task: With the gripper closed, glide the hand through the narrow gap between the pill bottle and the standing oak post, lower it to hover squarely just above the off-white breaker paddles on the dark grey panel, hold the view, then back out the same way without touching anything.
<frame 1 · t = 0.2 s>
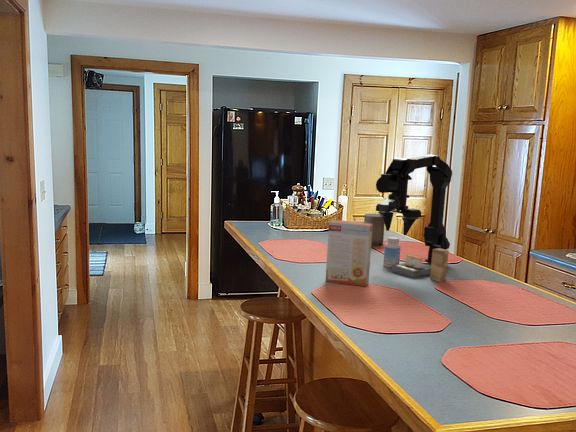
hand: (396, 232, 198), 14 cm above the kitchen island, tool pointing down, fingers open, 9 cm apart
pillar candle: (372, 243, 250), on the kitchen island
cracker box: (346, 282, 179), on the kitchen island
breaker paddles: (413, 261, 196), point 5 cm above the kitchen island, hinge at 0.0°
breaker panel: (412, 272, 197), on the kitchen island
oak post: (437, 279, 190), on the kitchen island
pill bottle: (391, 266, 207), on the kitchen island
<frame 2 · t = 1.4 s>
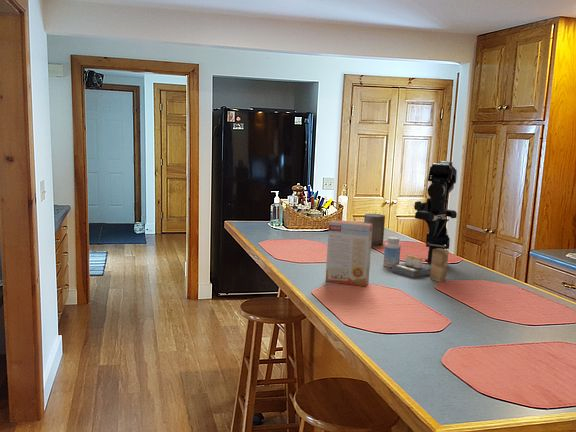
hand: (434, 236, 202), 13 cm above the kitchen island, tool pointing down, fingers closed
nothing on the kitchen island moved.
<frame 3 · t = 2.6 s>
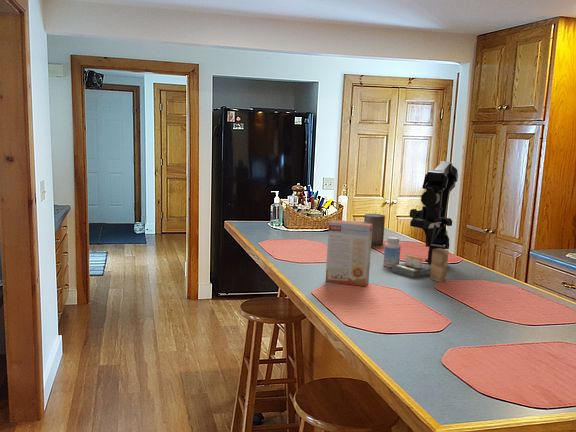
hand: (429, 244, 201), 10 cm above the kitchen island, tool pointing down, fingers closed
nothing on the kitchen island moved.
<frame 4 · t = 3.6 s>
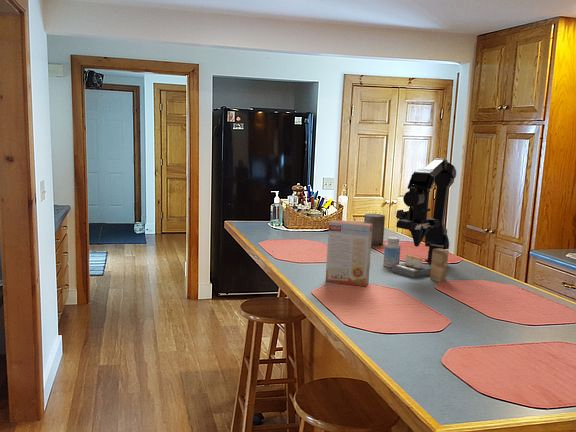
hand: (416, 246, 196), 10 cm above the kitchen island, tool pointing down, fingers closed
nothing on the kitchen island moved.
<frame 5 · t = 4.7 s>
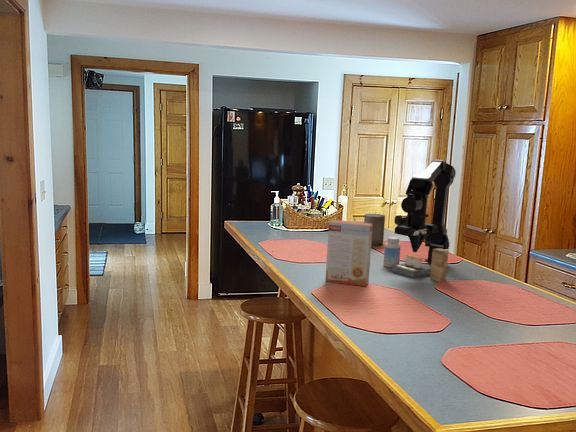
hand: (414, 252, 196), 8 cm above the kitchen island, tool pointing down, fingers closed
nothing on the kitchen island moved.
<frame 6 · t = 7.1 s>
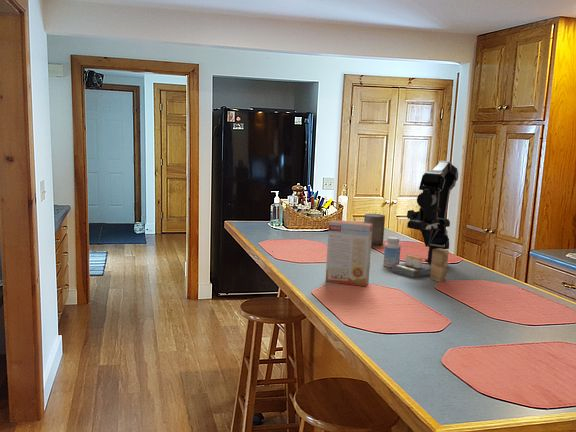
hand: (426, 245, 200), 10 cm above the kitchen island, tool pointing down, fingers closed
nothing on the kitchen island moved.
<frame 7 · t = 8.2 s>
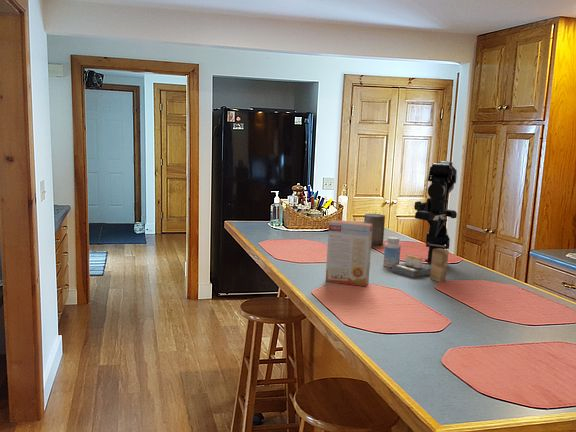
hand: (434, 236, 202), 13 cm above the kitchen island, tool pointing down, fingers closed
nothing on the kitchen island moved.
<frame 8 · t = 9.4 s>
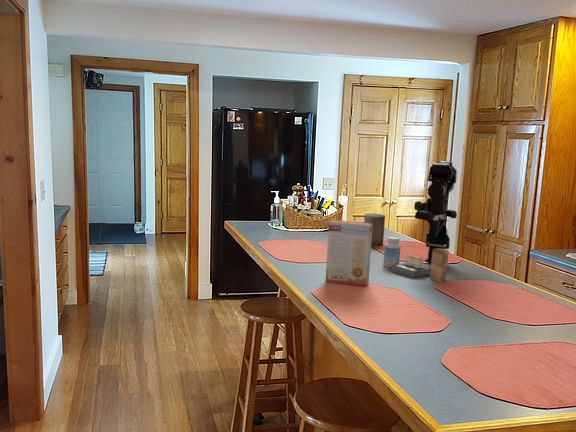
hand: (434, 236, 202), 13 cm above the kitchen island, tool pointing down, fingers closed
nothing on the kitchen island moved.
at the end: breaker paddles at +0° (first picture: +0°); pill bottle moved 0.2 cm from its start; oak post moved 0.0 cm from its start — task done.
